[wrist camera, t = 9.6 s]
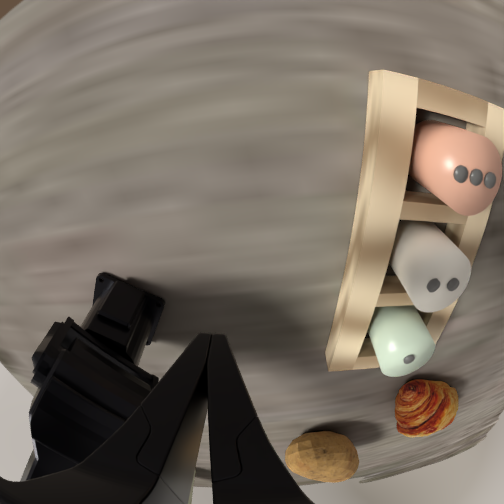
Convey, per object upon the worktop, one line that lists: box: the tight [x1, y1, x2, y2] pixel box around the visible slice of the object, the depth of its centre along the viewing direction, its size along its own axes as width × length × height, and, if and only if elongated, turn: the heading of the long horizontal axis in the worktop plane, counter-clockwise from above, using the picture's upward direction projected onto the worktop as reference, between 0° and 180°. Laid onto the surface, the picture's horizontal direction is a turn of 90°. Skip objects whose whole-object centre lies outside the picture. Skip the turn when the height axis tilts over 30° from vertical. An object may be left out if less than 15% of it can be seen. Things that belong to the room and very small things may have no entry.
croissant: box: [395, 379, 458, 438], centre depth 32 cm, size 21×10×8 cm
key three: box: [408, 120, 502, 216], centre depth 15 cm, size 5×5×6 cm
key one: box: [367, 305, 435, 377], centre depth 23 cm, size 5×5×6 cm
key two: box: [389, 220, 471, 312], centre depth 19 cm, size 5×5×6 cm
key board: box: [325, 70, 504, 371], centre depth 21 cm, size 25×11×2 cm, turn 0°
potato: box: [285, 431, 359, 482], centre depth 35 cm, size 10×14×8 cm
